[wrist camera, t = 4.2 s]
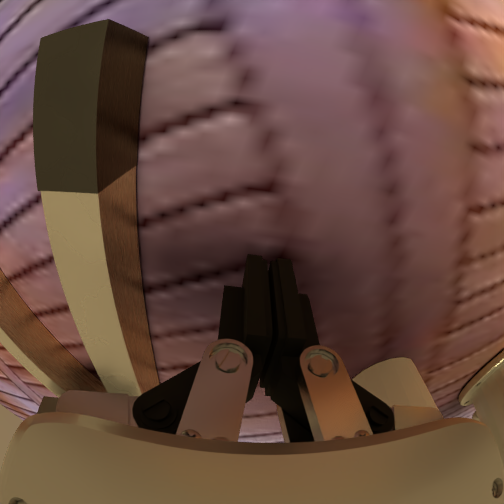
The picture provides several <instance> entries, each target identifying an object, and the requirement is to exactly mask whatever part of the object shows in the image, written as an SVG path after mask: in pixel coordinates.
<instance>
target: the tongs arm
mask: <svg viewBox="0 0 504 504" xmlns="http://www.w3.org/2000/svg"><path fill="white" fill-rule="evenodd" d="M148 38H149V37H147V36H145V35H143V34H141V33H139V32H137V31H135V30H132V29H130V28H128V27H126V26H124V25H121V24H119V23H117V22H114V21H112V20H110V19H107V20H102V21H97V22H93V23H89V24H85V25H81V26H77V27H73V28H70V29H66V30H63V31H60V32H57V33H54V34H51V35H48V36H45V37H42V38H41V40H40V46H39V52H38V58H37V66H36V75H35V86H34V104H33V140H34V158H35V170H36V180H37V188H38V191H41V196H42V203H43V209H44V215H45V220H46V225H47V230H48V235H49V239H50V244H51V248H52V252H53V256H54V260H55V264H56V267H57V271H58V274H59V278H60V281H61V284H62V287H63V290H64V293H65V296H66V299H67V302H68V305H69V308H70V311H71V313H72V316H73V319H74V321H75V324H76V326H77V329H78V331H79V334H80V336H81V339H82V341H83V343H84V346H85V348H86V350H87V352H88V354H89V357H90V359H91V361H92V363H93V365H94V367H95V369H96V371H97V373H98V375H99V377H100V379H101V381H102V383H103V385H104V387H105V388H106V390H107V392H108V393H126V394H128V395H129V396H140V395H141V394H143V393H144V392H146V391H148V390H150V389H152V388H154V387H156V386H158V385H159V384H160V383H159V379H158V375H157V370H156V365H155V361H154V356H153V351H152V345H151V340H150V334H149V329H148V322H147V316H146V309H145V302H144V295H143V287H142V278H141V269H140V259H139V247H138V232H137V213H136V166H137V144H138V123H139V109H140V98H141V88H142V79H143V71H144V63H145V57H146V50H147V44H148Z"/></svg>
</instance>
